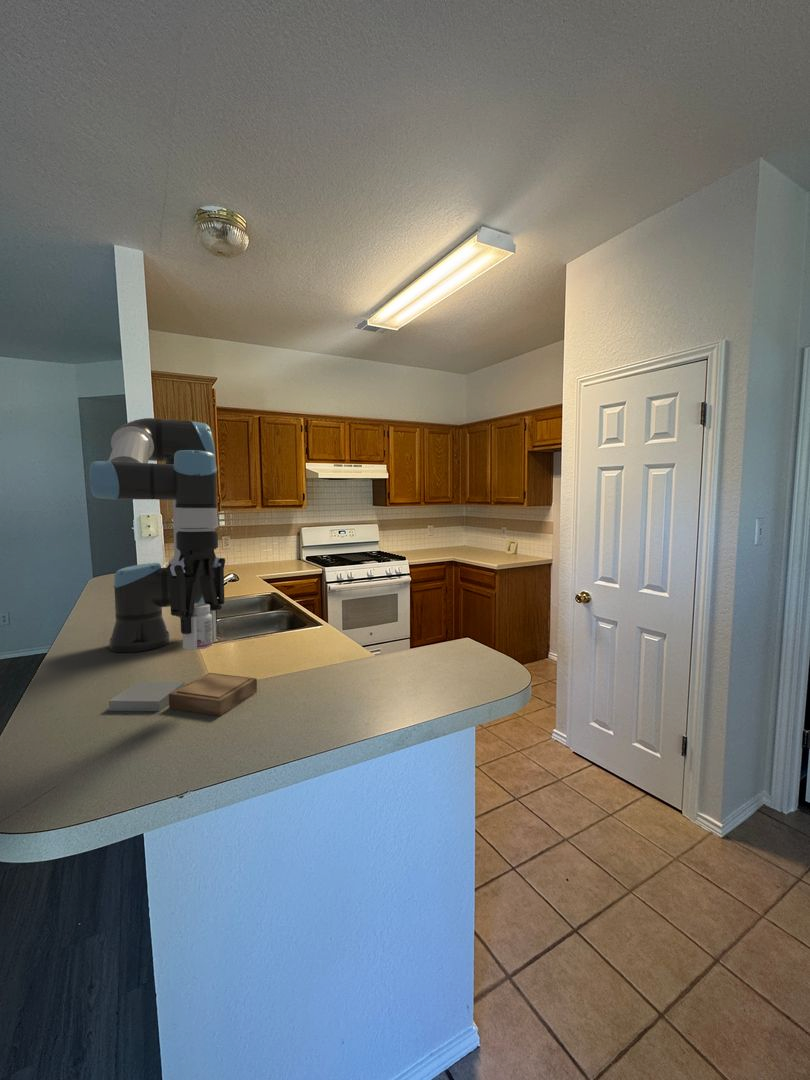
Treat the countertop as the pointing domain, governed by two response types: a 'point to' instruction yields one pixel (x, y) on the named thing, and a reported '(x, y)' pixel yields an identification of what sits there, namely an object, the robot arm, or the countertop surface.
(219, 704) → the walnut stand
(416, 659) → the countertop surface
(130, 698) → the slate tile
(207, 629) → the pill bottle
